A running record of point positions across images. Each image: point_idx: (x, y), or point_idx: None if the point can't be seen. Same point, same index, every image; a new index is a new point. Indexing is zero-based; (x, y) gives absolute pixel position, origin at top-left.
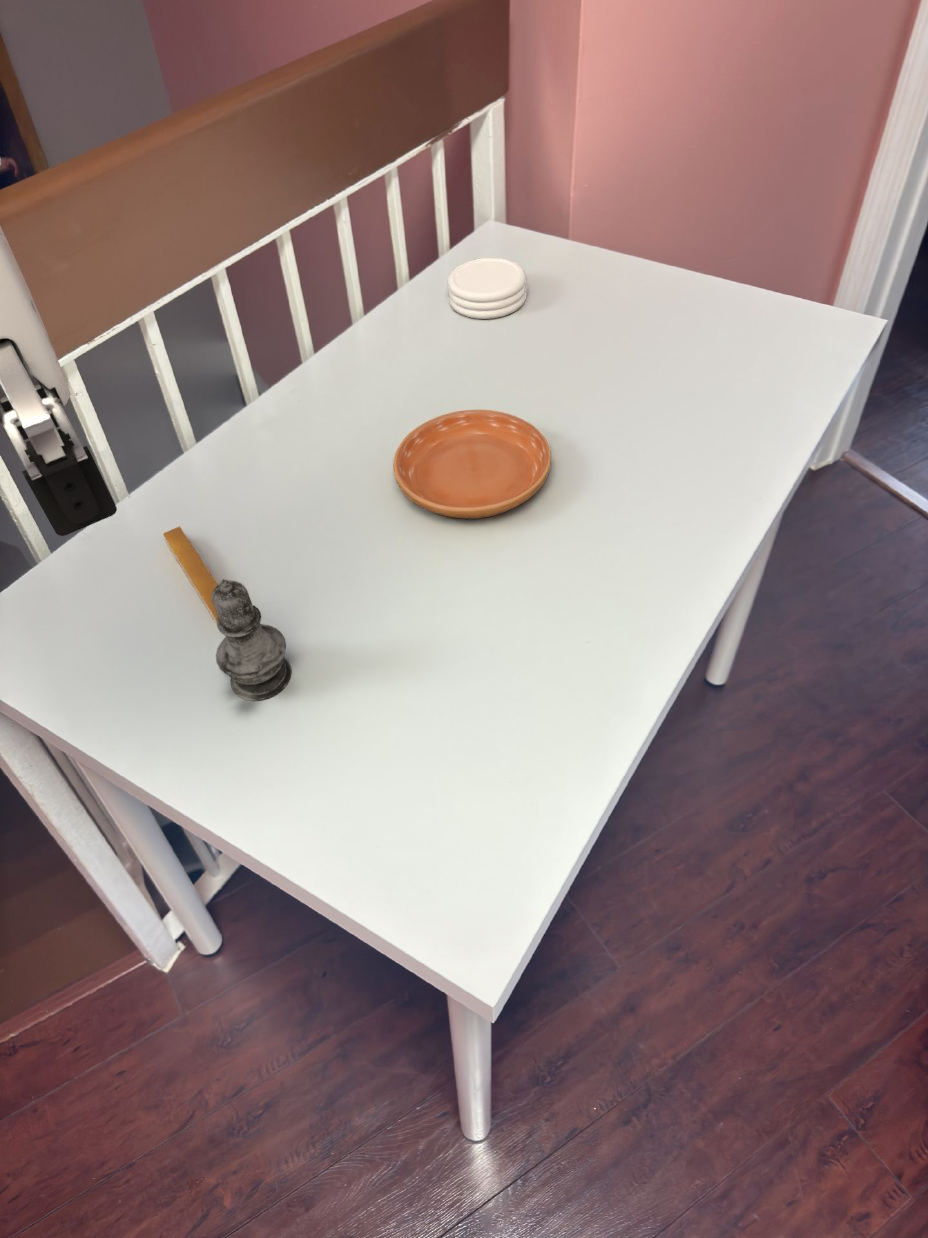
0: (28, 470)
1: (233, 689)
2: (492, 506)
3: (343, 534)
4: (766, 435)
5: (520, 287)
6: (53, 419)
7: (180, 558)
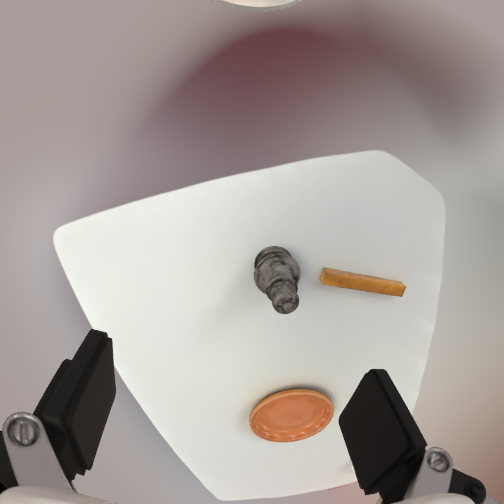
0: (3, 429)
1: (278, 247)
2: (256, 409)
3: (320, 353)
4: (205, 468)
5: (352, 469)
6: (345, 421)
7: (382, 283)
